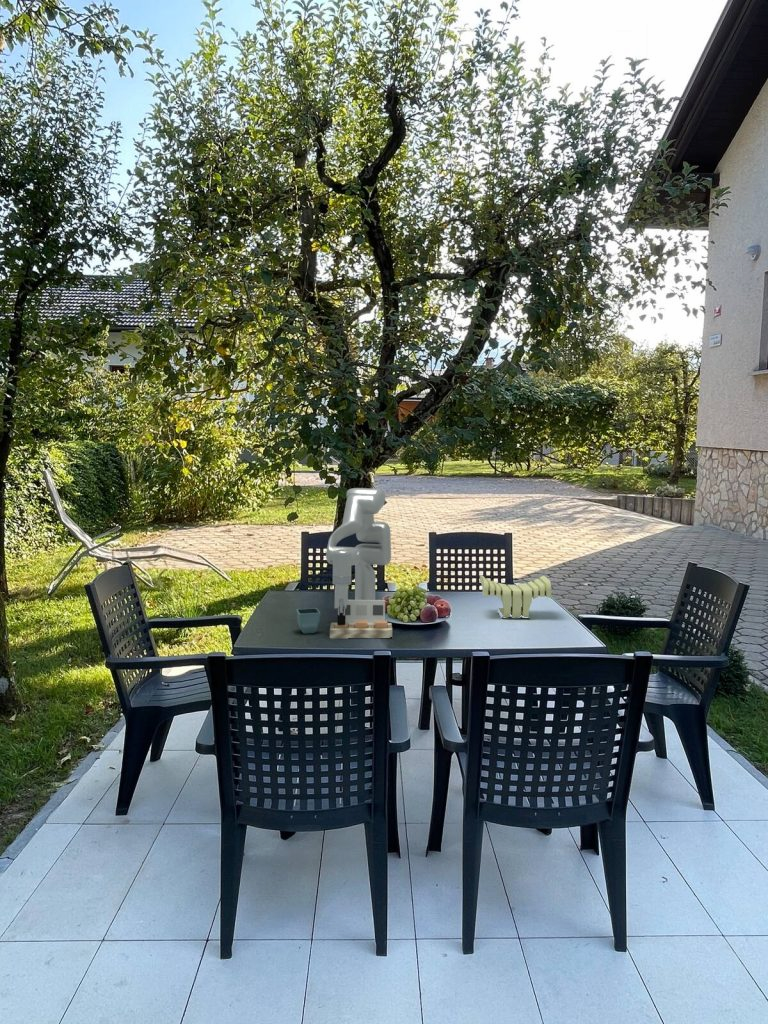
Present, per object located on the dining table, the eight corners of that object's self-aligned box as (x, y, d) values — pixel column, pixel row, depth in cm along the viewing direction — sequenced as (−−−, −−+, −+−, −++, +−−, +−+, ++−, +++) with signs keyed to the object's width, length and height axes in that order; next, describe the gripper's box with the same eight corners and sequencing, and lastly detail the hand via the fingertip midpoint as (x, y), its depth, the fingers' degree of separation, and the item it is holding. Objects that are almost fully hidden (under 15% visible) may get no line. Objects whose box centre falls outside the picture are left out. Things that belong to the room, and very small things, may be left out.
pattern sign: (337, 627, 308) (338, 601, 307) (338, 624, 313) (338, 598, 312) (384, 627, 308) (385, 601, 307) (384, 624, 313) (384, 599, 312)
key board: (329, 638, 289) (329, 629, 289) (331, 630, 301) (331, 622, 301) (392, 638, 290) (392, 630, 289) (391, 631, 302) (391, 623, 301)
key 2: (374, 631, 293) (375, 623, 293) (374, 628, 298) (374, 620, 298) (387, 631, 293) (387, 623, 293) (386, 628, 298) (387, 620, 298)
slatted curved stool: (483, 619, 325) (484, 580, 324) (478, 611, 341) (479, 574, 340) (550, 620, 325) (551, 581, 323) (542, 612, 341) (543, 575, 339)
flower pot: (299, 635, 293) (299, 613, 292) (295, 630, 301) (296, 609, 301) (320, 634, 295) (320, 612, 295) (316, 629, 304) (316, 608, 303)
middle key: (355, 631, 293) (355, 622, 292) (355, 628, 298) (355, 620, 297) (367, 631, 293) (367, 623, 292) (367, 628, 298) (367, 620, 297)
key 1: (335, 634, 293) (335, 625, 292) (335, 631, 298) (335, 622, 297) (347, 634, 293) (347, 626, 292) (347, 631, 298) (347, 623, 297)
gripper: (333, 576, 301) (333, 620, 302) (331, 583, 286) (331, 629, 287) (351, 577, 301) (351, 620, 302) (350, 583, 286) (350, 629, 287)
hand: (341, 624), depth 295 cm, fingers closed
